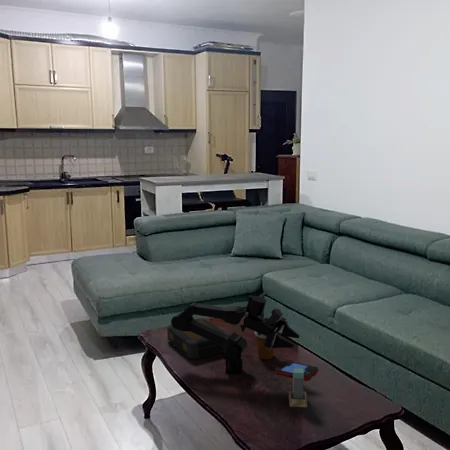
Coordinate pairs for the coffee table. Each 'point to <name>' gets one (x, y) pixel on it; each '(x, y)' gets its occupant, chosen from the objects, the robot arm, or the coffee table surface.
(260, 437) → the coffee table surface
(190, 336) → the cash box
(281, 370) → the game console
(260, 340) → the disposable coffee cup
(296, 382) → the teal-topped square pillar
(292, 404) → the open wooden box
